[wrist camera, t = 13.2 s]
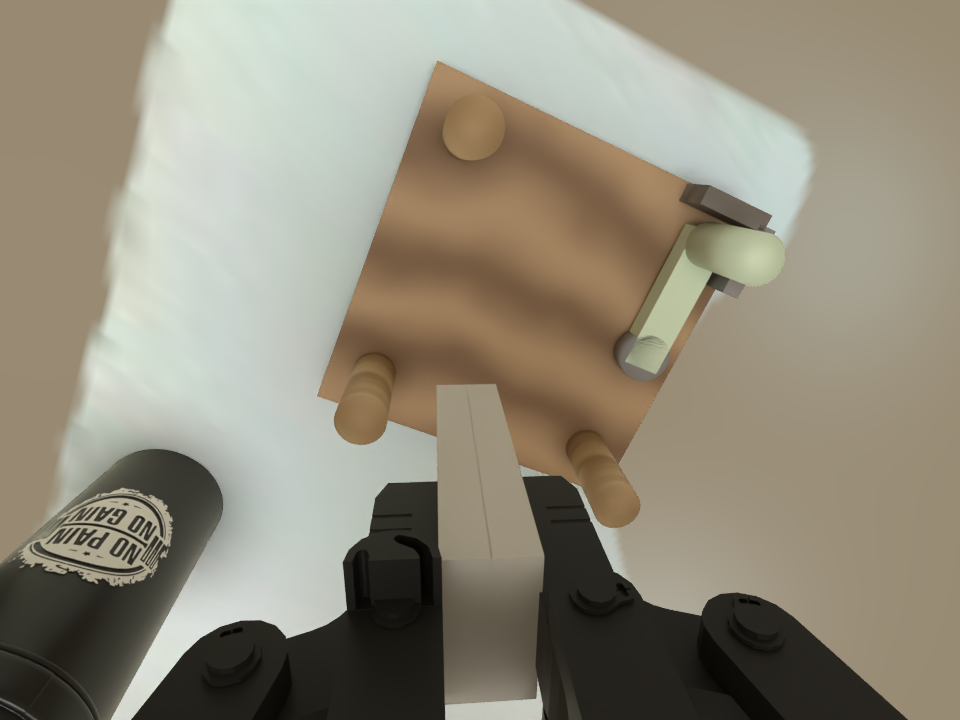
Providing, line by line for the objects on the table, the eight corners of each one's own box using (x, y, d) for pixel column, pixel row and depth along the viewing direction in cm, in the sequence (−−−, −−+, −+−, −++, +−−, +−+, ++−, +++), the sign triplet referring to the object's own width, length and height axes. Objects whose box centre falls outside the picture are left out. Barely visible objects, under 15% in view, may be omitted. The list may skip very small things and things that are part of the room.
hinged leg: (646, 379, 39) (692, 426, 32) (606, 363, 38) (644, 407, 31) (727, 230, 36) (798, 246, 29) (685, 210, 35) (748, 221, 28)
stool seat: (595, 478, 44) (636, 560, 35) (322, 384, 39) (289, 450, 30) (740, 212, 38) (837, 227, 28) (437, 66, 33) (438, 29, 24)
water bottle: (251, 465, 41) (47, 802, 19) (213, 571, 44) (-3, 970, 22) (107, 419, 39) (-302, 737, 17) (77, 533, 42) (-308, 931, 20)
